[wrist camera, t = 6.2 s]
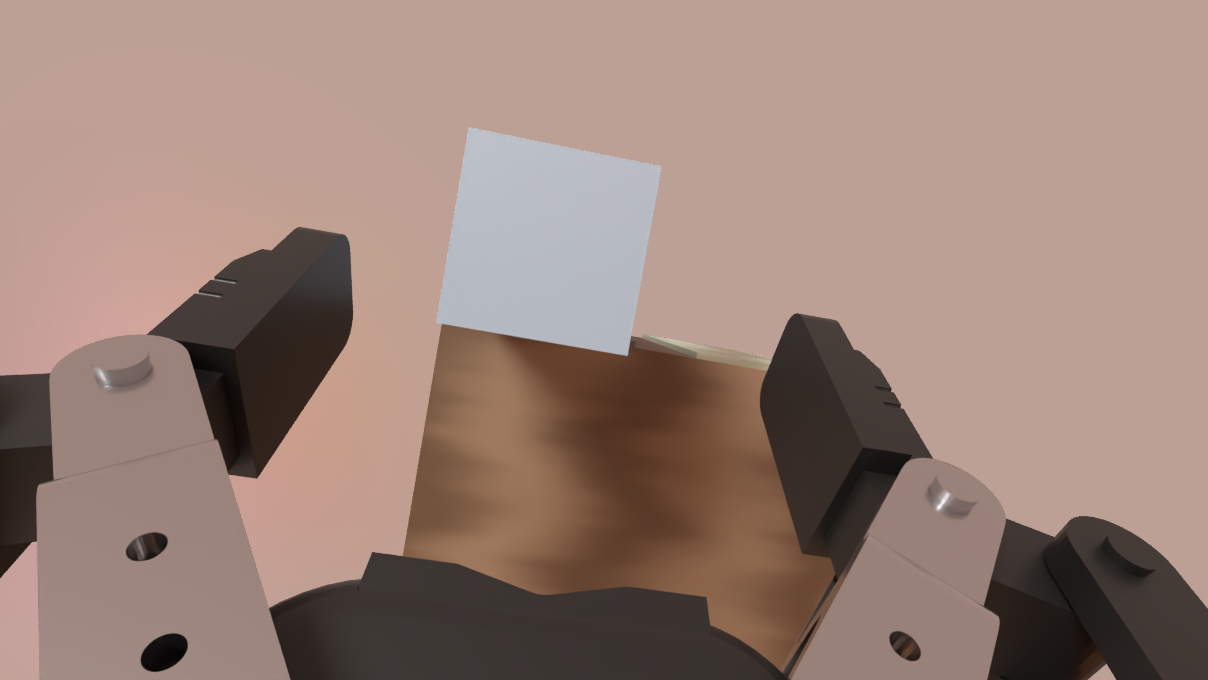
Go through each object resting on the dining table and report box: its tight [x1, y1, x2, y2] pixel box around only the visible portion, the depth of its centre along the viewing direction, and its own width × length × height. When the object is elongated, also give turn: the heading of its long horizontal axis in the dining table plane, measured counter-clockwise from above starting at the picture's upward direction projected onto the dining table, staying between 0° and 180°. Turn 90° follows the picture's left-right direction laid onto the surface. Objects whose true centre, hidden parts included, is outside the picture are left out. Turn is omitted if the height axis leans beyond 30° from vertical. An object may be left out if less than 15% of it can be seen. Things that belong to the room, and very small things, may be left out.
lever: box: [436, 127, 662, 356], centre depth 21 cm, size 4×20×4 cm, turn 5°
